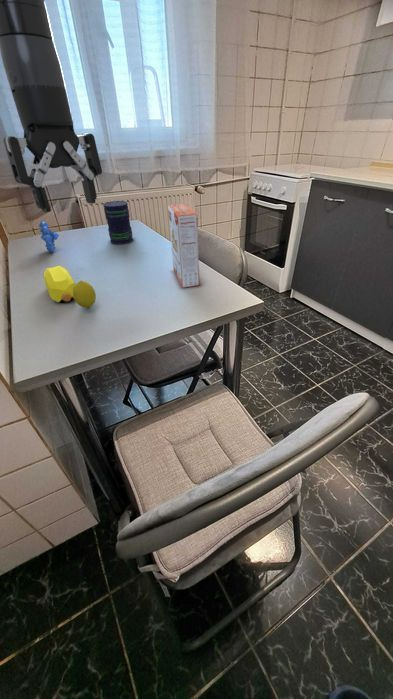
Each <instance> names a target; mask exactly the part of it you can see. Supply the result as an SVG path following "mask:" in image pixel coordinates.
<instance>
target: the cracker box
mask: <svg viewBox="0 0 393 699" xmlns="http://www.w3.org/2000/svg"><path fill="white" fill-rule="evenodd" d="M167 209H168V210H167V211H168V221H169V233H170V243H171V244H170V245H171V258H172V267H173V272H174V274H175V276H176V278H177V280H178V282H179V285H180V286H181V288H182V289H185V288H191V287H198V286H200V259H199V258H200V257H199V255H200V254H199V223H198V222H199V221H198V220H199V218H198V213H197V212H196V211H195V210H193V209H192V208H191V207H190V206H189V205H188V204H187V203H174V204H172V203H171V204H168V205H167Z"/></svg>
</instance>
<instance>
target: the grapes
mask: <svg viewBox="0 0 393 699" xmlns="http://www.w3.org/2000/svg"><path fill="white" fill-rule="evenodd" d="M38 227H39V228H40V230H39V231H40V233H41V237H40V239H42V241H44V242H45V248H46V250H47V251H48V252H50V253H52V252H53V253H54V251H55V250H56V244H55V241H56V240H58V239H59V237H60V235H59V233H57V232H56V231H52V230H51V229H50V228H49V224H48V223H47V222H45V221H44V220H42V221H40V222H39V224H38Z"/></svg>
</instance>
